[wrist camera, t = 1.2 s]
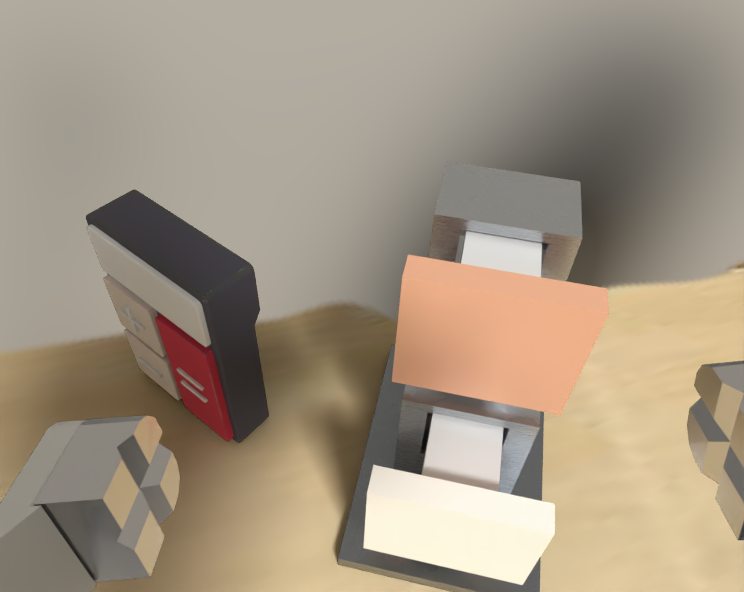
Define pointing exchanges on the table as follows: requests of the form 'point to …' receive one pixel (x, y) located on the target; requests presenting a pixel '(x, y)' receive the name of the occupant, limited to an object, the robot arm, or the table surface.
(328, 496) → the table surface
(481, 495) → the cream stepped block
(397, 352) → the orange plunger
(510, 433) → the press rig
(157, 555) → the robot arm
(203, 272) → the dark rectangular slab
